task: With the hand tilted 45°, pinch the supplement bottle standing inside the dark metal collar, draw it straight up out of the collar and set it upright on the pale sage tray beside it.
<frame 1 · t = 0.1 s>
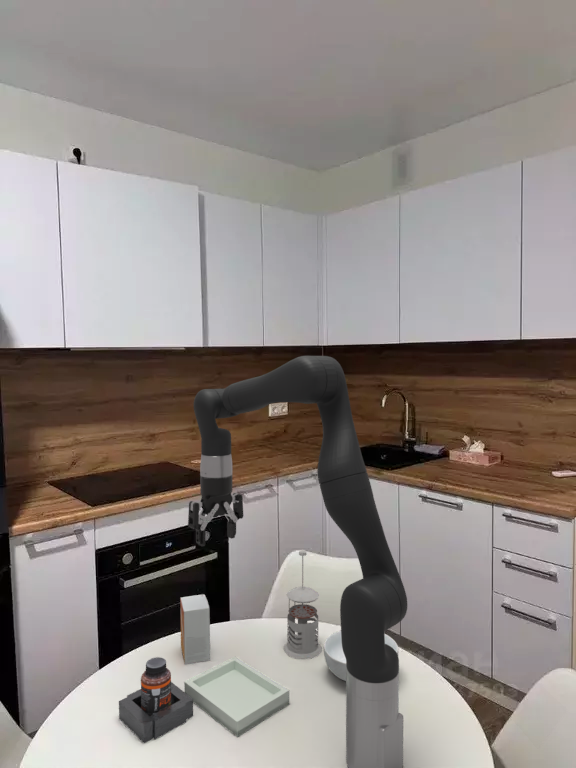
hand: (216, 541, 125), 29 cm above the table, tool pointing down, fingers open, 8 cm apart
collar: (156, 717, 107), on the table
french press: (301, 647, 133), on the table
cereal bowl: (360, 676, 121), on the table
supplement bottle: (156, 718, 107), resting in collar
small box: (195, 654, 130), on the table
tray: (236, 699, 112), on the table
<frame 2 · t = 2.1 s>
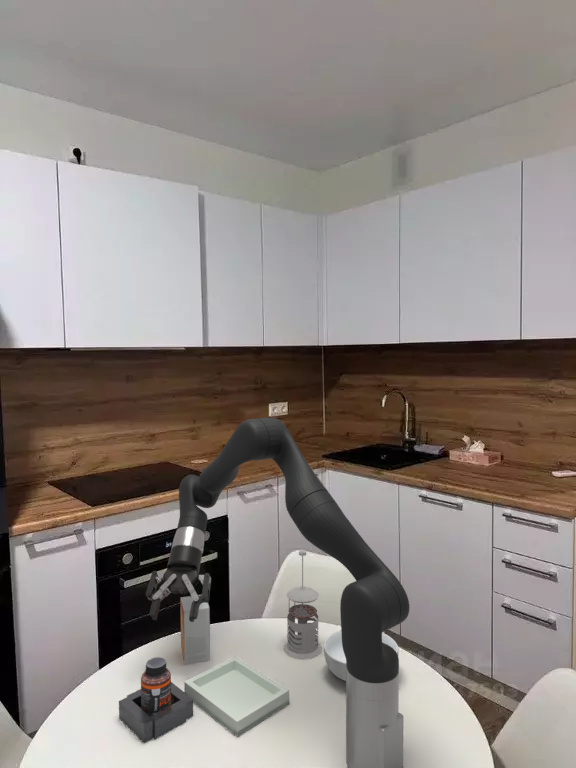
hand: (172, 619, 117), 15 cm above the table, tool tilted 45°, fingers open, 8 cm apart
nothing on the table moved.
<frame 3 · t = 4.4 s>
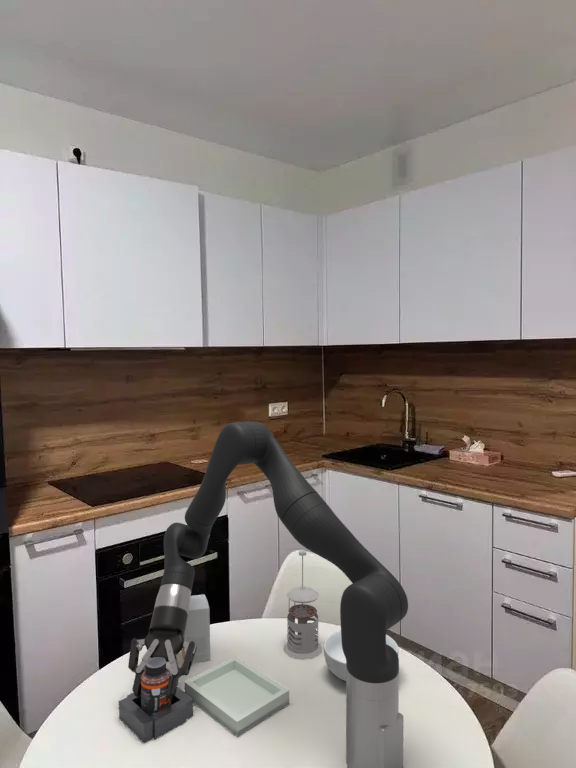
hand: (153, 696, 105), 5 cm above the table, tool tilted 45°, fingers closed on supplement bottle, 6 cm apart
supplement bottle: (156, 718, 107), resting in collar, touching gripper
everything else where it was.
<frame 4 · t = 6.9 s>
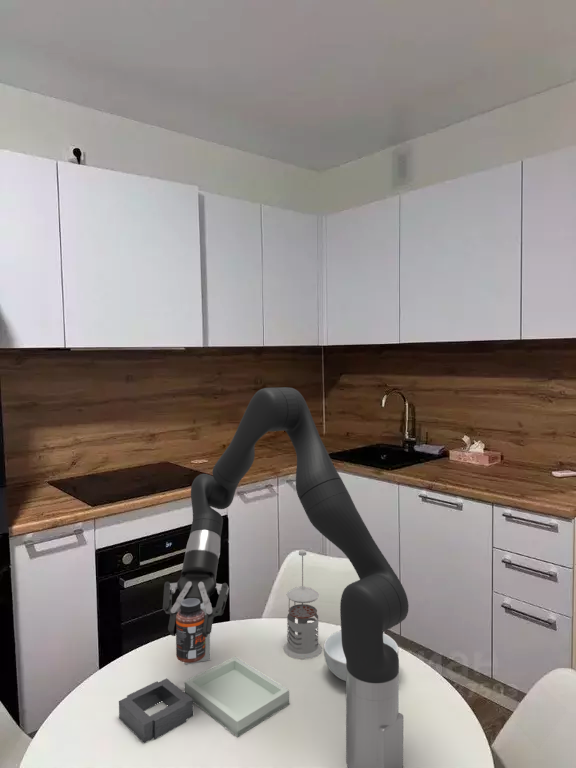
hand: (188, 635, 106), 17 cm above the table, tool tilted 45°, fingers closed on supplement bottle, 6 cm apart
supplement bottle: (191, 657, 108), point 11 cm above the table, touching gripper
everything else where it was.
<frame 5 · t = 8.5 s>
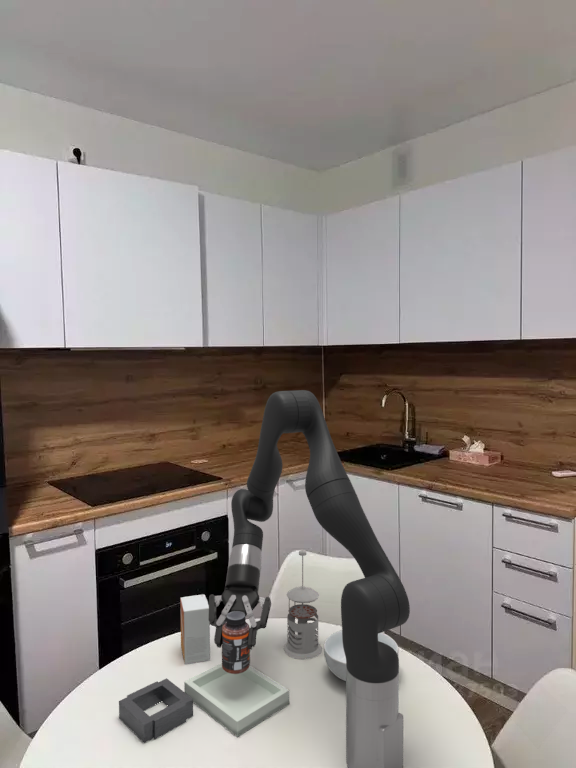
hand: (234, 647, 110), 12 cm above the table, tool tilted 45°, fingers closed on supplement bottle, 6 cm apart
supplement bottle: (235, 668, 112), point 7 cm above the table, touching gripper
everything else where it was.
when the fingers open (8 cm above the table, at t = 9.8 s): supplement bottle drops 1 cm, resting on tray.
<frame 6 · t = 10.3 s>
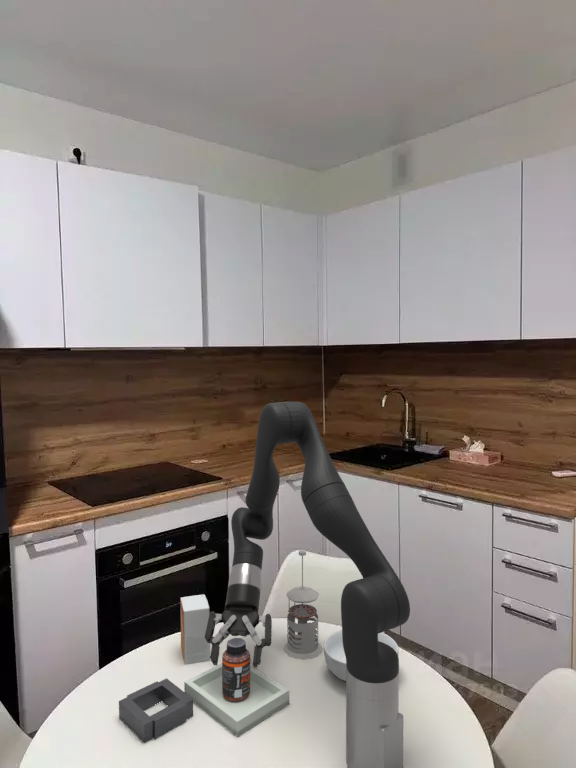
hand: (234, 665, 111), 8 cm above the table, tool tilted 45°, fingers open, 8 cm apart
supplement bottle: (236, 695, 113), point 1 cm above the table, touching tray
everything else where it was.
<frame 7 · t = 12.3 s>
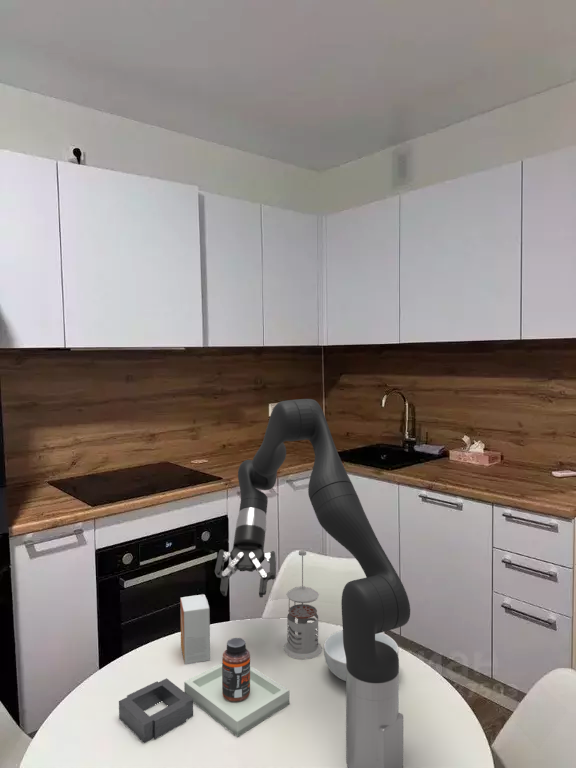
hand: (242, 595, 121), 18 cm above the table, tool tilted 45°, fingers open, 8 cm apart
nothing on the table moved.
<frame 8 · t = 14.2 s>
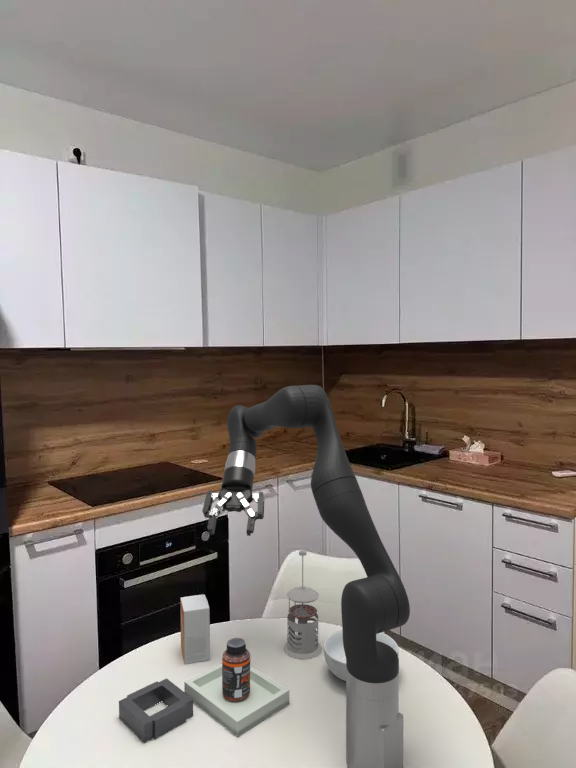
hand: (230, 533, 120), 33 cm above the table, tool tilted 45°, fingers open, 8 cm apart
nothing on the table moved.
at the end: supplement bottle inside the target area on the tray (0.3 cm from its centre), point 0.8 cm above the tray's base; supplement bottle tilted 0°; the gripper is holding nothing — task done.
